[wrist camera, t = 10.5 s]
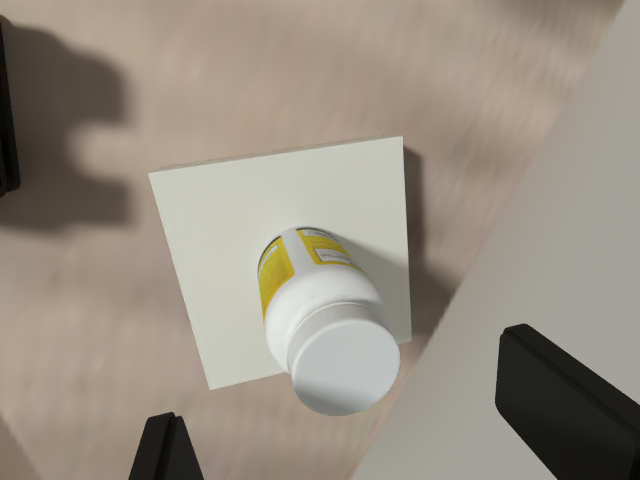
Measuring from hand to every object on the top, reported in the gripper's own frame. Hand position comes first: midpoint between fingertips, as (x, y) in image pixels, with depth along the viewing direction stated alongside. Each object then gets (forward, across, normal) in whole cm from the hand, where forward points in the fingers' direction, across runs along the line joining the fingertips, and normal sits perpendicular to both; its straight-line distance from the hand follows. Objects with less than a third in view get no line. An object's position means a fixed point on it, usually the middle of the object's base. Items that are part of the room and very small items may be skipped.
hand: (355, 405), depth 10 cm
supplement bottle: (+12, 0, +1) cm, 12 cm away
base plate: (+15, 0, +1) cm, 15 cm away
